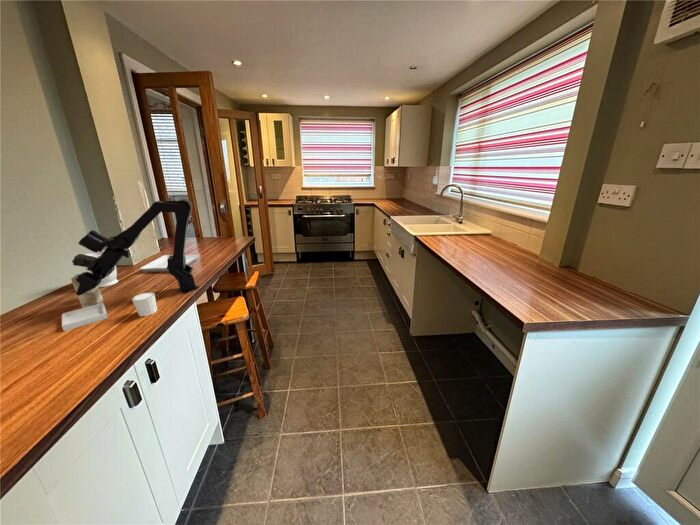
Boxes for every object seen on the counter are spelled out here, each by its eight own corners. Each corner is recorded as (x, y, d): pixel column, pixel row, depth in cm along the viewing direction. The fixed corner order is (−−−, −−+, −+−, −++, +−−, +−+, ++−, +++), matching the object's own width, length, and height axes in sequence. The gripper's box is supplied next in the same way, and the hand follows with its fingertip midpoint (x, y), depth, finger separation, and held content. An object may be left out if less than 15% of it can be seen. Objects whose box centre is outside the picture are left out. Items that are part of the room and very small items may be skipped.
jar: (87, 286, 128) (75, 255, 123) (112, 278, 137) (102, 249, 132) (101, 290, 124) (89, 258, 119) (126, 281, 133) (116, 251, 128)
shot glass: (148, 318, 101) (142, 301, 98) (132, 317, 102) (126, 299, 100) (163, 309, 107) (158, 292, 105) (148, 307, 108) (143, 291, 106)
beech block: (103, 300, 115) (93, 271, 110) (98, 305, 110) (87, 276, 106) (88, 302, 113) (77, 273, 109) (82, 308, 109) (70, 278, 104)
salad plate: (181, 273, 142) (179, 267, 141) (139, 274, 142) (138, 268, 141) (202, 259, 162) (201, 254, 161) (166, 260, 162) (164, 254, 161)
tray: (104, 307, 109) (103, 302, 109) (108, 318, 101) (106, 313, 101) (63, 318, 102) (61, 313, 101) (64, 331, 94) (61, 326, 93)
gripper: (96, 241, 113) (71, 270, 113) (73, 254, 97) (44, 288, 97) (125, 256, 119) (101, 284, 119) (108, 271, 102) (81, 304, 102)
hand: (83, 289), depth 109 cm, fingers open, 9 cm apart
